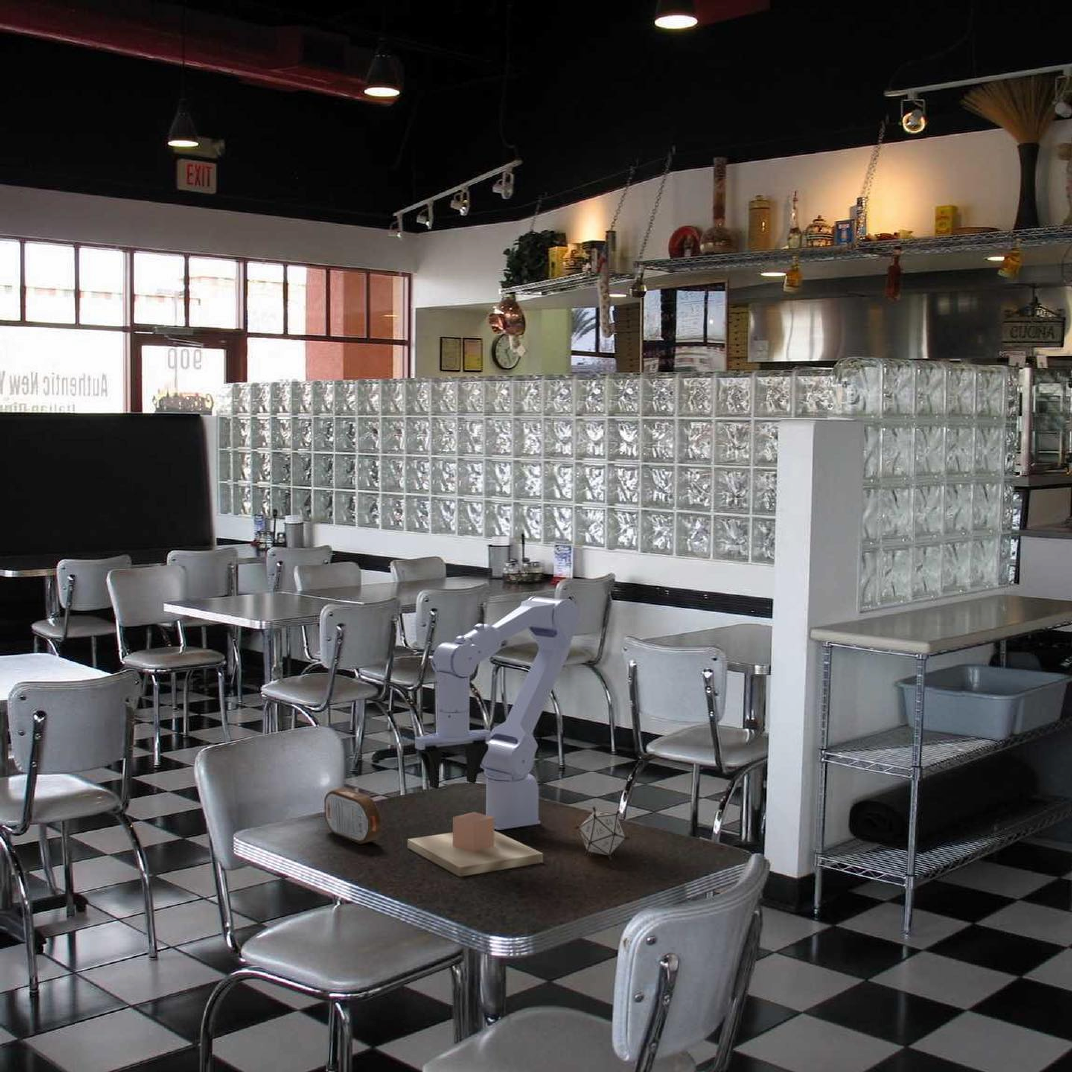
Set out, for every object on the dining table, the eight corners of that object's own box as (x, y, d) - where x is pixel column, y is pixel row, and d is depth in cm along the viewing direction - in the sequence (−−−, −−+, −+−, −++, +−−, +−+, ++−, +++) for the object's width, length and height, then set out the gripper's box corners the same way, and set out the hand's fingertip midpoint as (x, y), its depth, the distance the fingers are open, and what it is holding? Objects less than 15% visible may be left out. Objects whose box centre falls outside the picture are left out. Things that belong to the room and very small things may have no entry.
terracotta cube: (473, 840, 228) (473, 811, 228) (493, 846, 225) (494, 817, 225) (452, 845, 225) (452, 817, 224) (473, 851, 221) (473, 822, 221)
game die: (591, 874, 227) (574, 820, 232) (638, 858, 226) (620, 804, 231) (582, 862, 219) (565, 807, 224) (630, 845, 219) (612, 790, 224)
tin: (382, 846, 230) (383, 798, 229) (367, 849, 228) (368, 801, 227) (335, 828, 241) (335, 782, 240) (320, 831, 239) (321, 785, 238)
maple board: (487, 835, 237) (487, 827, 237) (542, 862, 221) (543, 853, 221) (407, 847, 228) (407, 839, 228) (459, 876, 212) (459, 867, 212)
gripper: (477, 703, 242) (476, 775, 243) (407, 710, 235) (406, 785, 235) (496, 708, 236) (496, 783, 237) (425, 716, 229) (425, 793, 229)
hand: (452, 784), depth 236 cm, fingers open, 7 cm apart
